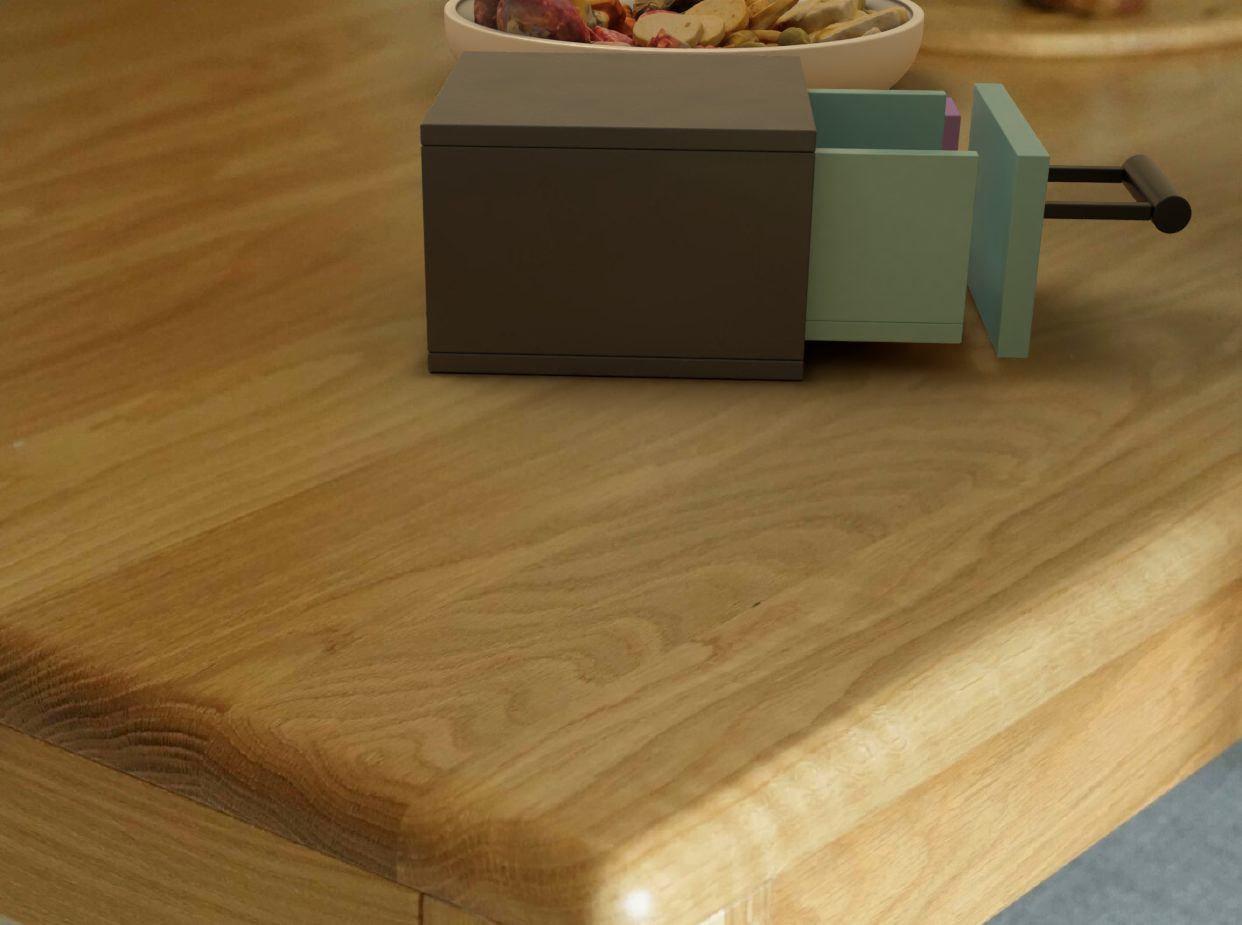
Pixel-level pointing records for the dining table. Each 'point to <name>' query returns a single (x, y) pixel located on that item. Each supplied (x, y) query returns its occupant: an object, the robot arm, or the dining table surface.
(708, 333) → the cabinet
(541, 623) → the dining table surface
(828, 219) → the drawer
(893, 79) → the bowl
